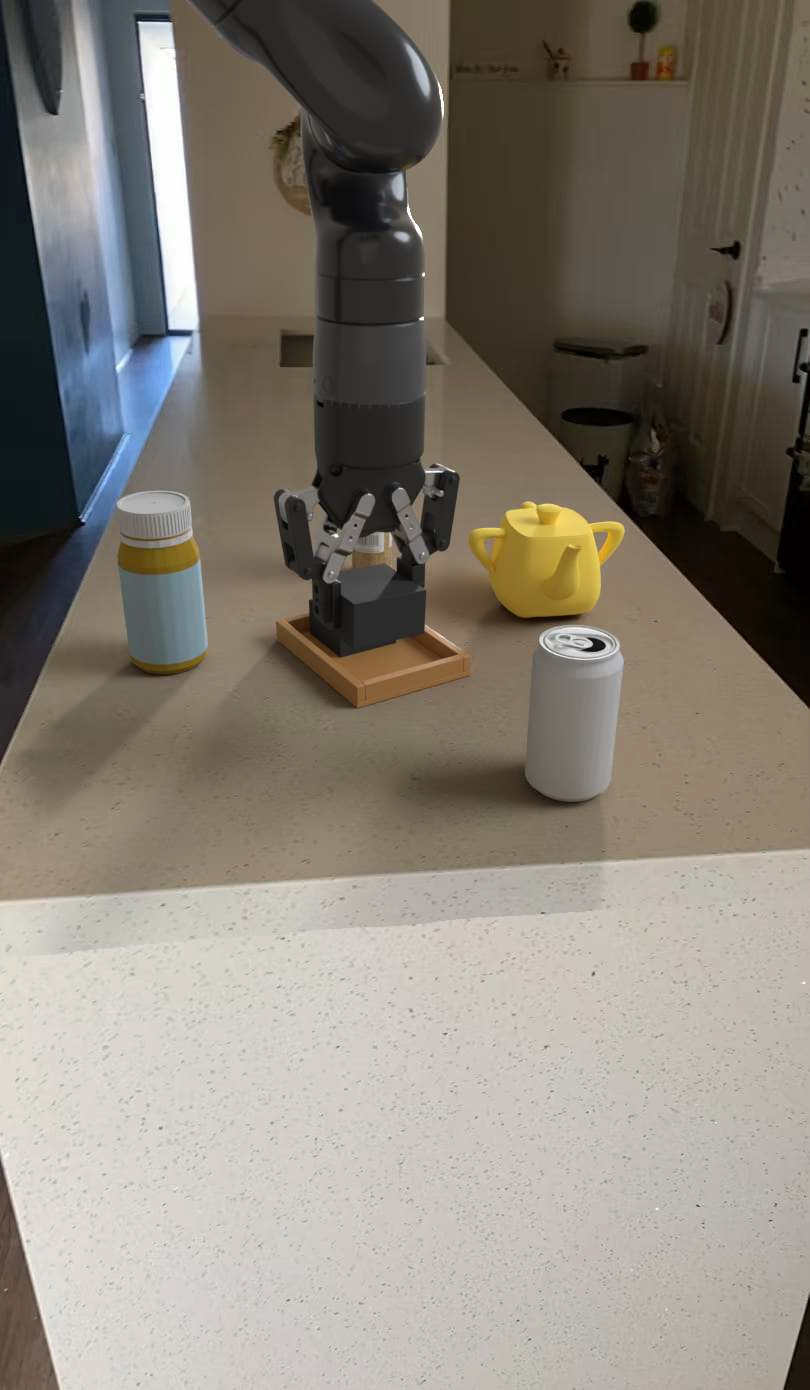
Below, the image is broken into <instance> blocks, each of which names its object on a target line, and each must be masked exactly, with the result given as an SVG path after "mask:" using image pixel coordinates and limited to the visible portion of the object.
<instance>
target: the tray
mask: <svg viewBox="0 0 810 1390" xmlns="http://www.w3.org/2000/svg"><path fill="white" fill-rule="evenodd" d="M275 630H276V631H275V632H276V635H275V636H276V640H277V641H278V642H279V643H280V644H281V645H282V646H284V647H285V648H286V649H287V650H288V651H290V653H292V654H293V655H294V656H296V657H297V658H298V659H299V660H300V661H301V662H302V663H304V664H305V665H306V666H307V667H308V668H310V669H311V670H312V671H313V672H314V673H315V674H316V675H318V676H319V677H320V678H321V679H322V680H323V681H325V682H326V683H327V684H328V685H329V686H331V687H332V688H333V689H334V690H335V691H336V692H338V693H339V694H340V695H341V696H342V697H343V698H345V699H346V700H347V701H348V702H349V703H350V704H351V705H353V706H354V707H355V708H356V709H359V708H363V707H366V706H369V705H373V704H376V703H380V702H383V701H387V700H390V699H393V698H396V697H398V698H399V697H400V696H405V695H408V694H411V693H415V692H419V691H421V690H425V689H428V688H432V687H435V686H438V685H442V684H445V683H449V682H452V681H456V680H459V679H462V678H466V677H470V676H471V660H472V659H471V655H470V654H469V653H467V652H466V651H464V650H463V649H462V648H460V647H459V646H457V645H455V644H454V643H452V641H450V640H448V639H447V638H445V637H444V636H442V635H441V634H439V633H438V632H436V631H434V630H433V629H431V628H430V627H429V626H427V625H426V624H425V631H424V634H421V635H417V636H412V637H408V638H403V639H399V640H396V643H394V644H390V645H386V646H383V647H379V648H375V649H371V650H367V651H364V652H360V653H356V654H352V655H349V656H345V657H341V658H340V657H339V656H338V655H336V654H335V653H334V652H333V651H331V650H330V649H329V648H328V647H326V646H325V645H324V644H323V643H321V642H320V641H319V640H318V639H316V638H315V637H314V636H313V635H311V634H310V618H309V612H306V613H302V614H298V615H293V616H289V617H286V618H280V619H277V620H275Z"/></svg>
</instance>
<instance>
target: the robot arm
mask: <svg viewBox="0 0 810 1390" xmlns="http://www.w3.org/2000/svg"><path fill="white" fill-rule="evenodd" d="M185 2H187V4H189V5H190V7H191V8H192V9H193V10H194V11H195V12H196V13H197V14H198V15H199V16H200V17H201V18H202V20H204V22H206V24H208V26H211V29H212V30H213V31H214V32H215V33H216V34H217V35H218V36H219V37H220V38H221V39H222V40H223V41H224V42H225V43H226V44H227V45H229V46H230V47H231V48H232V49H233V50H234V51H236V52H237V53H238V54H240V55H241V56H242V57H244V58H246V59H247V60H250V61H251V62H254V63H255V64H258V65H260V66H261V67H262V68H264V69H265V70H266V71H267V72H268V73H270V75H271V76H272V77H273V78H274V79H275V80H276V81H277V82H278V83H279V84H280V86H282V87H283V89H285V91H287V93H288V94H289V95H290V96H291V97H292V98H293V99H294V100H295V101H296V102H297V103H298V104H299V105H300V140H301V142H300V143H301V150H302V160H303V167H304V174H305V183H306V189H307V195H308V203H309V207H310V214H311V218H312V223H313V231H314V240H315V242H314V243H315V245H314V247H315V249H314V251H315V252H314V304H315V305H314V307H315V308H314V309H315V319H314V320H315V323H314V325H315V326H314V335H313V343H312V384H313V385H312V387H313V389H312V390H313V435H314V437H313V439H314V454H315V459H316V460H315V461H316V470H315V471H316V472H315V474H314V477H313V479H312V481H311V484H310V485H309V486H307V487H306V486H305V487H303V488H300V489H297V490H294V491H289V490H287V489H285V488H279V489H278V490H276V492H274V495H273V501H274V502H273V503H274V504H273V505H274V508H275V509H274V510H275V514H276V521H277V527H278V533H279V538H280V543H281V549H282V554H283V560H284V561H283V562H284V565H285V567H286V568H287V569H288V570H290V571H292V572H293V573H295V574H296V575H297V576H298V577H300V579H302V580H303V581H311V596H312V597H311V599H312V603H313V613H314V615H315V617H316V618H317V619H319V620H320V621H321V623H322V624H323V625H325V626H326V627H327V628H329V629H330V630H334V629H338V628H340V627H341V582H340V581H338V580H337V579H338V576H339V574H340V571H342V569H343V567H344V565H345V562H346V559H347V557H348V556H351V555H352V552H353V550H354V548H355V545H356V543H357V541H358V538H362V537H367V536H369V535H371V534H373V533H375V532H384V533H387V532H390V533H391V535H392V540H393V541H394V543H395V545H396V548H397V550H398V552H399V553H400V554H401V556H397V557H396V571H397V572H399V573H400V574H402V575H403V576H405V577H406V578H408V579H410V580H411V581H413V582H415V583H416V584H418V585H419V586H421V587H422V588H424V589H426V588H425V586H426V563H427V562H428V560H429V559H430V556H431V555H433V554H435V553H436V552H445V551H447V550H448V549H449V547H450V545H451V538H452V533H453V525H454V519H455V513H456V506H457V499H458V493H459V488H460V487H459V486H460V480H461V478H460V475H459V473H458V472H457V471H455V470H452V469H450V468H448V467H446V466H444V465H442V464H439V463H437V462H436V463H433V464H431V465H430V466H429V467H423V464H422V461H421V458H422V456H423V454H424V453H425V452H424V451H425V431H426V394H427V393H426V391H427V390H426V389H427V386H426V384H427V344H426V336H425V325H424V324H425V323H424V322H425V321H424V309H425V307H424V305H425V304H424V303H425V302H424V300H425V273H426V269H425V265H426V262H425V260H426V259H425V258H426V257H425V244H424V239H423V235H422V232H421V230H420V228H419V226H418V225H417V223H415V221H414V219H413V217H412V215H411V212H410V207H409V206H410V205H409V189H408V170H409V169H411V168H413V167H415V166H417V165H418V164H419V163H421V162H422V161H423V160H425V158H426V157H427V156H428V155H429V153H430V152H431V151H432V149H433V148H434V147H435V144H436V142H437V141H438V138H439V136H440V132H441V130H442V125H443V119H444V101H443V94H442V89H441V86H440V82H439V79H438V78H437V74H436V73H435V71H434V69H433V67H432V65H431V63H430V61H429V60H428V59H427V57H426V56H425V54H424V53H423V51H422V50H421V49H420V47H419V46H418V44H417V43H416V42H415V41H414V39H413V38H412V37H411V36H410V35H409V34H408V33H407V32H406V30H405V29H403V27H402V26H400V24H399V23H398V22H397V21H395V19H394V18H393V17H391V15H389V14H388V13H387V12H386V11H385V10H384V9H383V8H382V7H381V6H380V5H379V4H378V3H377V2H376V1H374V0H185ZM421 492H422V494H423V495H424V496H423V502H422V510H421V517H420V523H419V521H418V519H417V516H416V513H415V512H414V510H413V507H412V506H413V504H414V503H415V501H416V500H417V498H418V496H419V494H420V493H421ZM317 504H318V505H319V507H320V508H321V509H322V510H323V515H322V517H321V520H320V522H319V524H318V527H317V529H316V532H315V539H316V542H315V545H314V547H313V543H312V537H311V536H312V535H311V531H310V525H309V524H310V523H309V522H311V521H313V519H314V508H315V506H316V505H317ZM338 529H339V530H340V533H339V534H338Z"/></svg>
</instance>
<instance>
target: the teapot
mask: <svg viewBox="0 0 810 1390" xmlns="http://www.w3.org/2000/svg"><path fill="white" fill-rule="evenodd" d="M625 531H626V530H625V527H624V525H623V524H622V523H620V522H618V521H600V522H594V523H589V522H588V521H587V520H586V518H585V517H583V516H582V515H581V514H580V513H578V512H577V511H575V510H573V509H571V508H568V507H561V506H560V505H558V504H553V503H541V504H539V505H537V504H536V503H534V502H533V501H524V502H523V503H521V505H520V508H516V509H509V510H507V511H506V512H505V513H504V515H503V517H502V519H501V522H500V524H499V527H481V528H476V529H473V530H472V531H470V533H469V534H468V537H467V540H468V545H469V546H468V547H469V549H470V550H471V553H472V554H473V555H474V557H475V559H476V560H478V561H479V563H480V564H481V565H482V566H483V567H484V569H486V570H487V571H488V579H489V583H490V586H491V588H492V591H493V593H494V594H495V596H496V598H497V600H498V601H499V602H500V603H501V605H502V606H503V607H504V608H506V610H508V611H509V612H511V613H512V614H514V615H515V616H517V617H519V618H523V619H530V618H537V617H540V618H541V617H558V616H576V615H580V614H587V613H589V612H591V611H592V610H593V609H594V607H595V606H596V604H597V602H598V600H599V598H600V597H601V596H600V595H601V588H602V576H601V567H602V565H603V564H604V563H605V562H606V561H607V560H608V559H609V558H610V557H611V556H612V555H613V554H614V553H615V551H616V550H617V549H618V547H619V546H620V545H621V543H622V541H623V539H624V536H625V533H626V532H625ZM594 533H607V537H606V540H605V542H604V544H603V545H602V547H601V548H600V549H599V551H598V547H597V543H596V540H595V536H594ZM488 539H494V540H493V544H492V548H491V552H490V556H489V554H488V551H487V548H486V546H485V541H486V540H488Z"/></svg>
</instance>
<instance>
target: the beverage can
mask: <svg viewBox="0 0 810 1390" xmlns="http://www.w3.org/2000/svg"><path fill="white" fill-rule="evenodd" d="M620 648H621V642H620V640H619V639H618V638H617V636H616V635H614V634H613V633H611V632H609V631H607V630H605V629H602V628H600V627H595V626H590V625H584V624H565V625H560V626H559V625H558V626H554V627H551V628H549V629H547V630H544V631H543V632H542V633H541V634H540V636H539V639H538V645H537V646H536V647H535V649H534V650H533V652H532V662H531V677H530V691H529V707H528V720H527V721H528V722H527V735H526V752H525V764H524V765H525V766H524V767H525V768H524V776H525V779H526V780H527V782H528V783H529V784H530V786H531V787H532V788H533V789H535V790H537V791H538V792H539V793H540V794H542V795H543V796H545V797H547V798H549V799H552V800H555V801H560V802H567V803H579V802H584V801H588V800H591V799H593V798H595V797H596V796H598V795H600V794H602V793H603V792H605V791H606V790H607V789H608V787H609V786H610V783H611V781H612V780H611V779H612V773H613V772H612V771H613V762H614V753H615V743H616V734H617V727H618V726H617V725H618V718H619V717H618V716H619V708H620V699H621V690H622V682H623V681H622V680H623V673H624V663H625V661H624V660H625V659H624V656H623V655H622V653H621V649H620Z"/></svg>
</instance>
